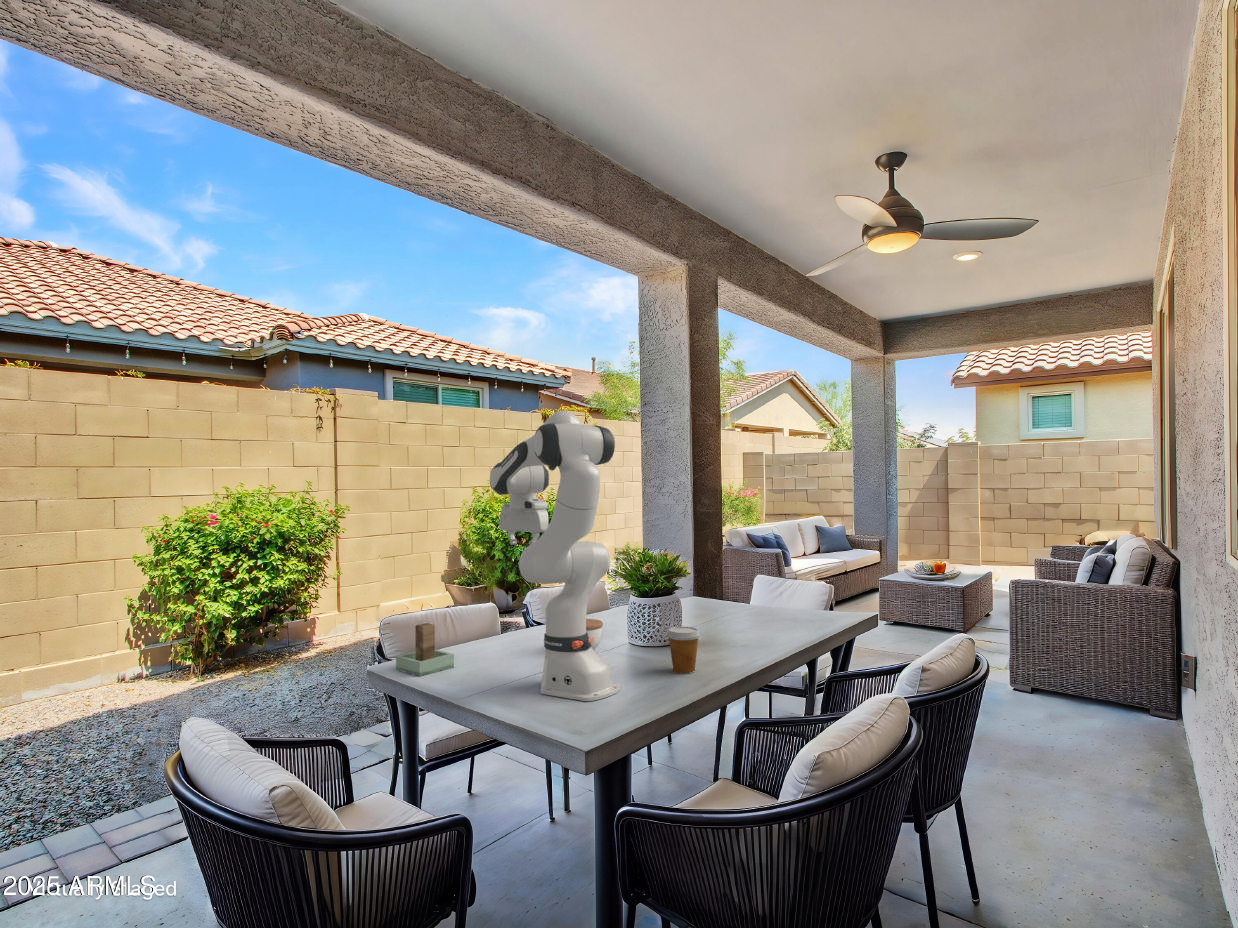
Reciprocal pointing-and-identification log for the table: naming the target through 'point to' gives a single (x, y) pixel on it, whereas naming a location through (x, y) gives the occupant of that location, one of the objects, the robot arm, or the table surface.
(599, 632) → the lidded bowl
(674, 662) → the disposable coffee cup
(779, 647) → the table surface
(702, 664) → the table surface
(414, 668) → the tray
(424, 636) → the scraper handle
